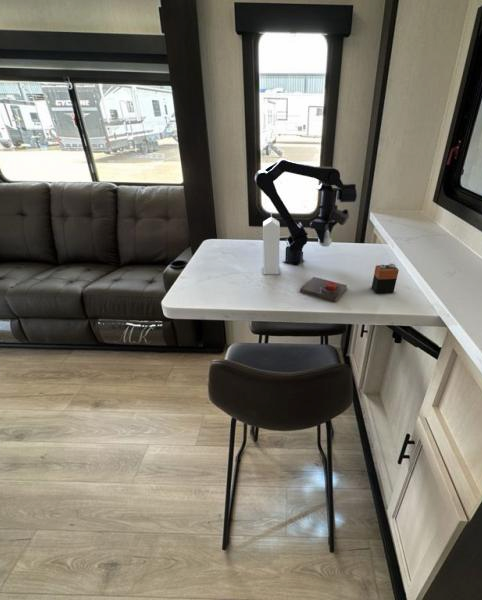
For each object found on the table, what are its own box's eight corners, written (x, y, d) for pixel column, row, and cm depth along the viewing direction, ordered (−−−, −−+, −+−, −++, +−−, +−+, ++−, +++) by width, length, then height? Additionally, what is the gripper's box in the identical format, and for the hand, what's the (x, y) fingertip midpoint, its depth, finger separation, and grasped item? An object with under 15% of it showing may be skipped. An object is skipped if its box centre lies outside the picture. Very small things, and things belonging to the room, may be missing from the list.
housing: (299, 292, 105) (299, 283, 103) (313, 280, 114) (313, 271, 112) (335, 303, 100) (336, 293, 98) (347, 289, 109) (348, 280, 107)
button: (323, 289, 101) (324, 284, 101) (327, 285, 104) (328, 280, 103) (333, 292, 100) (334, 287, 99) (337, 287, 103) (338, 283, 102)
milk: (278, 268, 123) (279, 212, 112) (279, 274, 117) (280, 217, 106) (263, 267, 122) (263, 212, 111) (263, 274, 117) (262, 217, 106)
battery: (394, 293, 107) (400, 267, 102) (375, 294, 106) (381, 267, 101) (388, 287, 111) (394, 261, 106) (370, 288, 110) (375, 262, 105)
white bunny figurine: (319, 248, 124) (321, 229, 120) (316, 242, 130) (317, 224, 126) (332, 248, 125) (334, 229, 121) (329, 242, 130) (330, 224, 126)
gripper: (339, 210, 108) (334, 251, 116) (355, 200, 122) (350, 238, 130) (310, 206, 112) (308, 246, 120) (329, 197, 127) (326, 233, 135)
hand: (324, 240), depth 126 cm, fingers closed on white bunny figurine, 6 cm apart
